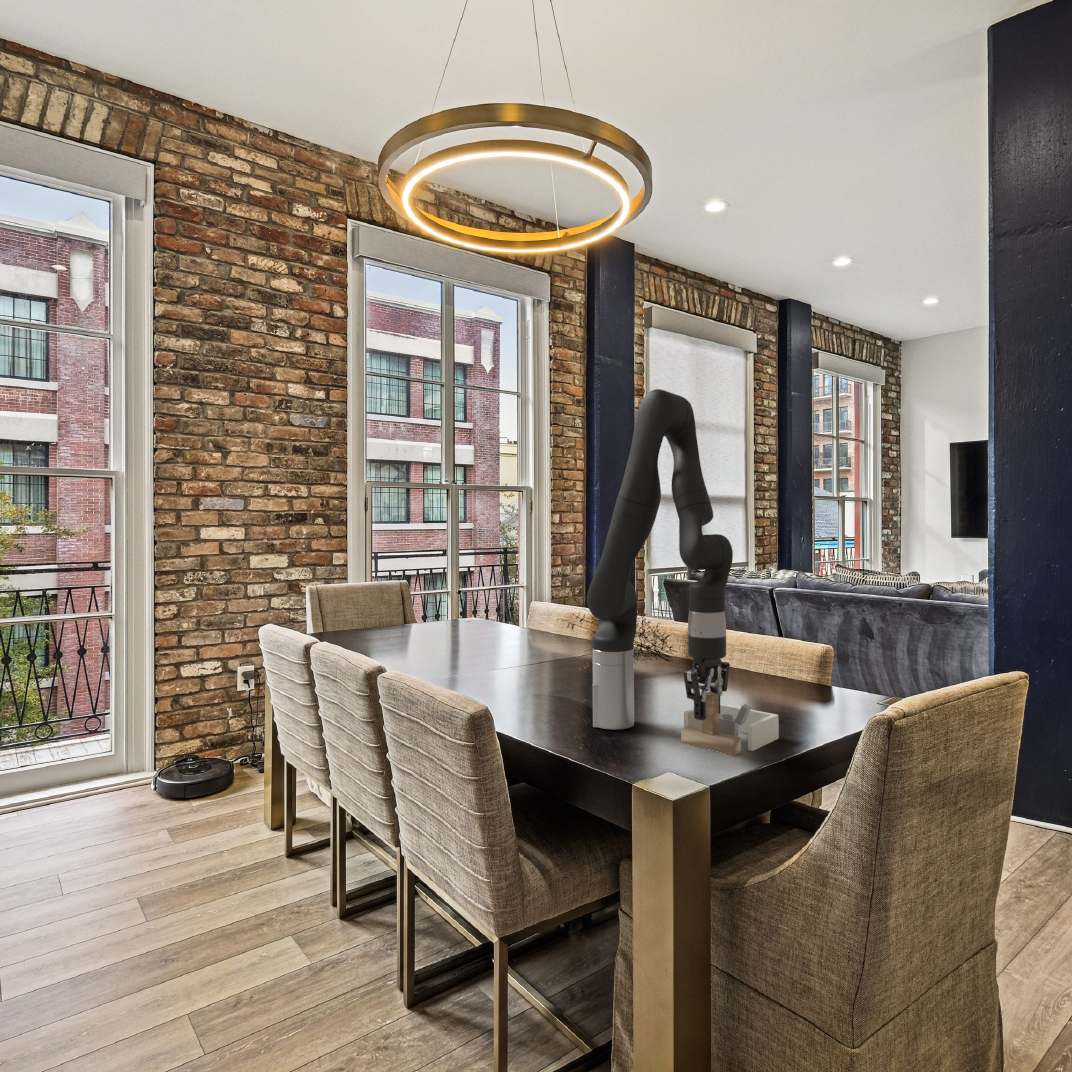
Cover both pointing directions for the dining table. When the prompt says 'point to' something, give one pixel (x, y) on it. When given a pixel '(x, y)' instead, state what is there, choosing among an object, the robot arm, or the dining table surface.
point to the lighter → (733, 721)
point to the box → (746, 725)
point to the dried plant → (634, 640)
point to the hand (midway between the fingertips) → (707, 716)
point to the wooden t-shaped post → (711, 731)
